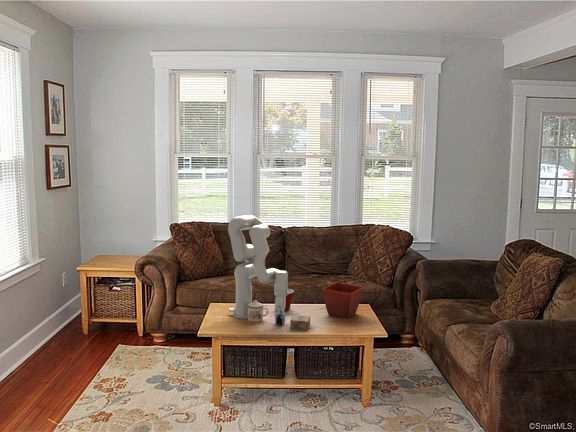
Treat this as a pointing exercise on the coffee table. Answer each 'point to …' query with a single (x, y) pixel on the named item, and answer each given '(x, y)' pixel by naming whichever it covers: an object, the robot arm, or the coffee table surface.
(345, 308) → the plant pot
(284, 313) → the slate block
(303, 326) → the walnut plinth
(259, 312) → the teacup with lid
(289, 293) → the plastic cup
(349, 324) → the coffee table surface
